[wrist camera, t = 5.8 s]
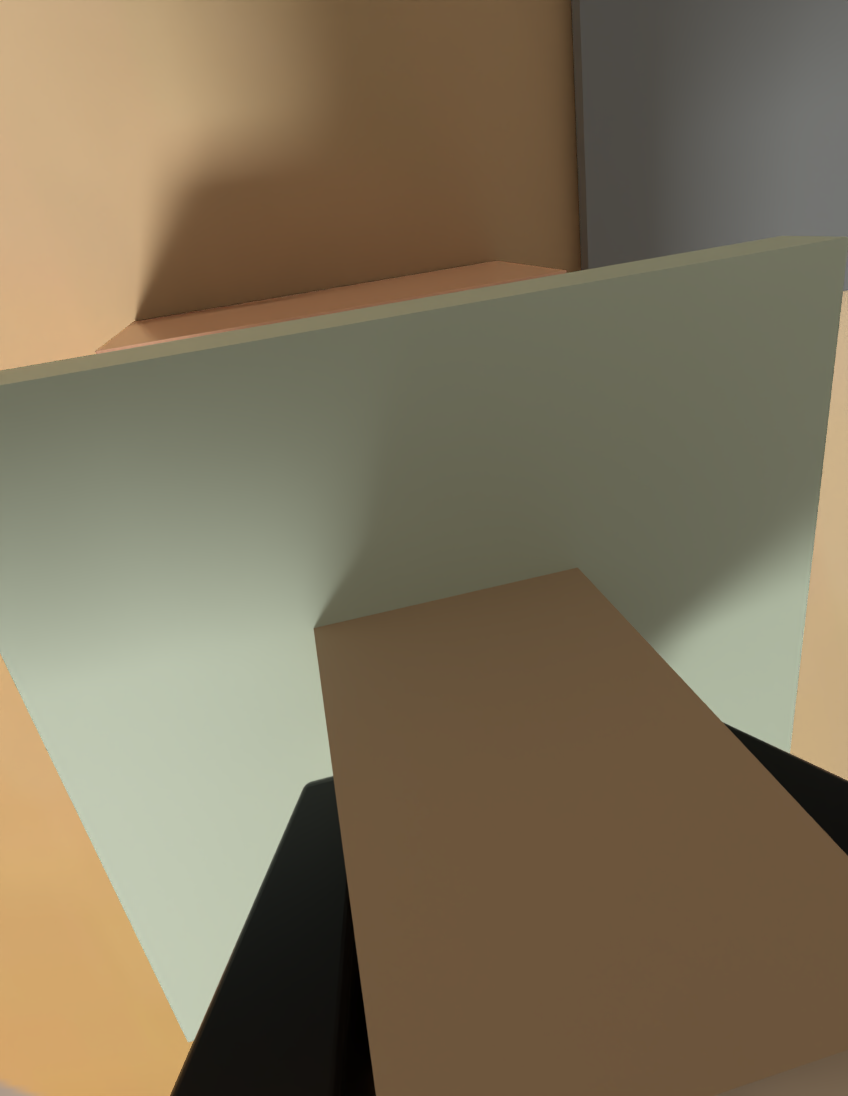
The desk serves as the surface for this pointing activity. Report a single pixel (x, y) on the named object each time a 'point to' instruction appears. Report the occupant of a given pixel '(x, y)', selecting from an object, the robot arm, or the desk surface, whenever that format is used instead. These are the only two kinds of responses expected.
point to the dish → (321, 303)
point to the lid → (462, 659)
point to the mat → (708, 124)
